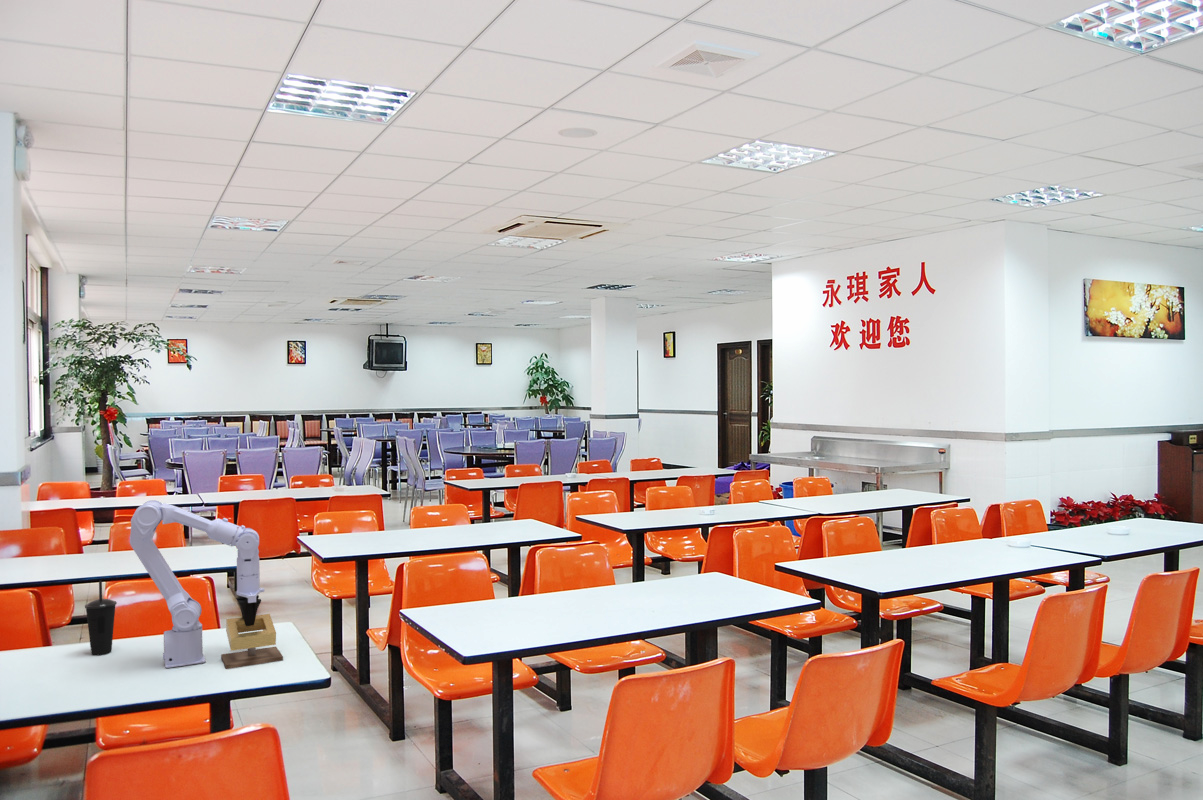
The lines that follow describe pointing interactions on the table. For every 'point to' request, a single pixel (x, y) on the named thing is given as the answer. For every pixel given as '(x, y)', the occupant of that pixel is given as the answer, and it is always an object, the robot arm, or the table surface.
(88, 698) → the table surface
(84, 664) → the table surface
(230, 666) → the board
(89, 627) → the drinking cup
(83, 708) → the table surface
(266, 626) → the tan slotted block
